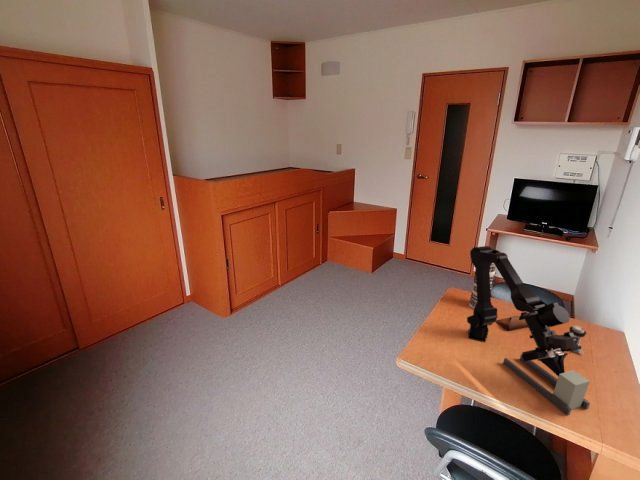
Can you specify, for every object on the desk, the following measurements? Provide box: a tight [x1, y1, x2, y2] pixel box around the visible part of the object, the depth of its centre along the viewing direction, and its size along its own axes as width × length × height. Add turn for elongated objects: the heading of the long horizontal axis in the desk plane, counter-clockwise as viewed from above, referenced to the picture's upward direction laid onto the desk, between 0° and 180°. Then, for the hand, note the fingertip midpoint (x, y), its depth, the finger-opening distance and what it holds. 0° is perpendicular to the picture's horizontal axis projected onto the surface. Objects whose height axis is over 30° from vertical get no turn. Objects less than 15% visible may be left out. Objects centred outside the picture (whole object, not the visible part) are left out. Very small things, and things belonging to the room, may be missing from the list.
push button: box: [569, 325, 587, 355], centre depth 128 cm, size 7×5×10 cm
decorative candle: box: [468, 263, 497, 310], centre depth 157 cm, size 9×9×25 cm
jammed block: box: [552, 369, 591, 411], centre depth 101 cm, size 5×6×10 cm
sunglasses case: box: [494, 315, 528, 332], centre depth 146 cm, size 18×7×7 cm
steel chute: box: [502, 353, 591, 417], centre depth 110 cm, size 24×10×4 cm, turn 18°
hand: (563, 378), depth 103 cm, fingers closed, pressing on jammed block
